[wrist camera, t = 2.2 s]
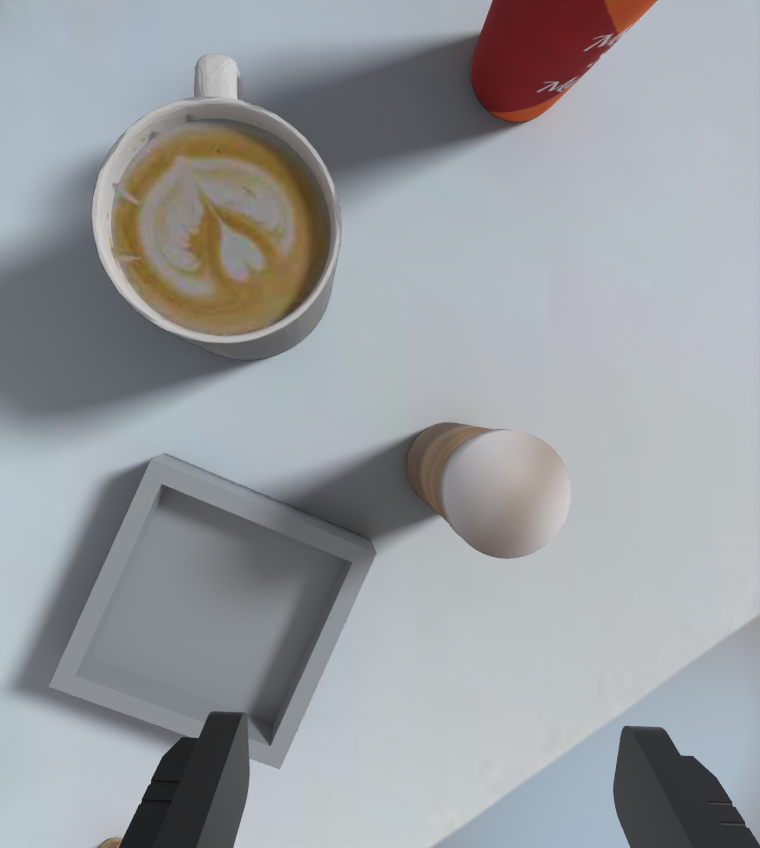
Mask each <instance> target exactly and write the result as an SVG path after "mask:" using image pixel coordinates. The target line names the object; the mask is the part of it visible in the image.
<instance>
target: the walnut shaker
mask: <svg viewBox="0 0 760 848" xmlns="http://www.w3.org/2000/svg"><path fill="white" fill-rule="evenodd" d="M406 471H407V476H408V480H409V482H410V484H411V486H412V488H413V490H414V491H415V492H416V494H417V495H418V496H419V497H421V498H422V499H423V500H424V501H425V502H426V503H427V504H428V505H429V506H430V507H432V508H433V509H434V510H435V511H436V512H437V513H438V514H439V515H440V516H442V517H443V518H444V519H445V520H446V521H447V522H448V523H449V524H450V526H451V527H452V528H453V530H454V531H455V532H456V533H457V534H458V535H459V536H460V537H461V538H463V539H464V540H465V541H466V542H467V543H468V544H469V545H470V546H472V547H473V548H474V549H476V550H477V551H479V552H481V553H483V554H486V555H489V556H492V557H497V558H506V559H509V558H518V557H523V556H526V555H529V554H532V553H534V552H536V551H538V550H539V549H541V548H542V547H544V546H545V545H546V544H548V543H549V542H550V541H551V540H552V539H553V538H554V537H555V536H556V534H557V533H558V532H559V530H560V529H561V527H562V525H563V523H564V522H565V520H566V517H567V514H568V511H569V507H570V501H571V485H570V479H569V475H568V472H567V469H566V467H565V465H564V463H563V461H562V459H561V458H560V456H559V455H558V454H557V452H556V451H555V450H554V449H553V448H552V447H551V446H550V445H548V444H547V443H546V442H544V441H543V440H541V439H539V438H538V437H536V436H533V435H530V434H527V433H523V432H518V431H512V430H503V429H495V430H493V429H487V428H481V427H476V426H470V425H464V424H458V423H450V422H448V423H440V424H436V425H433V426H431V427H429V428H427V429H426V430H424V431H423V432H422V433H420V434H419V435H418V437H417V438H416V439H415V440H414V442H413V443H412V445H411V447H410V449H409V452H408V455H407V461H406Z"/></svg>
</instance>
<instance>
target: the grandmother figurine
mask: <svg viewBox="0 0 760 848" xmlns="http://www.w3.org/2000/svg"><path fill="white" fill-rule="evenodd" d="M121 842H122V839H120V838H111V839H108V840H106V841H105V842H104V843H103V844H102V845H101V847H100V848H119V846H120V844H121Z"/></svg>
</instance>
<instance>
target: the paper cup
mask: <svg viewBox="0 0 760 848" xmlns="http://www.w3.org/2000/svg"><path fill="white" fill-rule="evenodd" d="M656 1H657V0H493V1H492V4H491V7H490V9H489V12H488V15H487V18H486V20H485V23H484V26H483V29H482V31H481V34H480V37H479V40H478V43H477V46H476V49H475V52H474V56H473V60H472V65H471V80H472V85H473V89H474V91H475V94H476V96H477V98H478V99H479V101H480V102H481V104H482V105H483V106H484V107H485V108H486V109H487V110H488V111H489V112H490V113H492V114H493V115H494V116H496V117H498V118H500V119H503V120H506V121H510V122H524V121H529V120H532V119H534V118H536V117H538V116H540V115H541V114H543V113H544V112H545V111H546V110H547V109H549V108H550V107H551V106H552V105H553V104H554V103H555V102H556V101H557V100H558V99H559V98H561V97H562V96H563V95H564V94H565V93H566V92H567V91H568V90H569V89H570V88H571V87H572V86H573V85H574V84H575V83H576V82H577V81H578V80H579V79H580V78H581V77H582V76H583V75H584V74H585V73H586V72H587V71H588V70H589V69H590V68H591V67H592V66H593V65H594V64H595V63H596V62H597V61H598V60H599V59H600V58H601V57H602V56H603V55H604V54H605V53H606V52H607V51H608V50H609V49H610V48H611V47H612V46H613V45H614V44H615V43H616V42H617V41H618V40H619V39H620V38H621V37H622V36H623V35H624V34H625V33H626V32H627V31H628V30H629V29H630V28H631V27H632V26H633V25H634V23H635V22H636V21H637V20H638V19H639V18H640V17H641V16H642V15H643V14H644V13H645V12H646V11H647V10H648V9H649V8H650V7H651V6H652V5H653V4H654V3H655V2H656Z"/></svg>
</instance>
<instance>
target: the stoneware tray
mask: <svg viewBox="0 0 760 848" xmlns="http://www.w3.org/2000/svg"><path fill="white" fill-rule="evenodd" d="M375 555H376V551H375V548H374V546H373V544H372V541H371V540H370V539H368V538H366V537H363V536H361V535H359V534H356V533H354V532H351V531H349V530H347V529H344V528H342V527H340V526H337V525H335V524H332V523H330V522H328V521H325V520H323V519H320V518H318V517H316V516H313V515H311V514H309V513H306V512H304V511H301V510H299V509H297V508H294V507H292V506H289V505H287V504H285V503H282V502H280V501H278V500H275V499H273V498H270V497H268V496H266V495H263V494H261V493H258V492H256V491H254V490H251V489H249V488H247V487H244V486H242V485H239V484H237V483H235V482H232V481H230V480H228V479H225V478H223V477H220V476H218V475H216V474H213V473H211V472H208V471H206V470H204V469H201V468H199V467H197V466H194V465H192V464H189V463H187V462H185V461H182V460H180V459H177V458H175V457H173V456H170V455H168V454H166V453H165V454H162V455H160V456H157V457H155V458H152V459H151V460H150V463H149V465H148V467H147V469H146V471H145V474H144V476H143V478H142V480H141V482H140V485H139V487H138V489H137V491H136V494H135V496H134V498H133V500H132V502H131V505H130V507H129V509H128V511H127V514H126V516H125V518H124V520H123V522H122V525H121V527H120V529H119V531H118V534H117V536H116V538H115V540H114V542H113V545H112V547H111V549H110V551H109V554H108V556H107V558H106V560H105V562H104V565H103V567H102V569H101V571H100V574H99V576H98V578H97V580H96V582H95V585H94V587H93V589H92V591H91V594H90V596H89V598H88V600H87V602H86V605H85V607H84V609H83V611H82V613H81V616H80V618H79V620H78V622H77V625H76V627H75V629H74V631H73V633H72V636H71V638H70V640H69V642H68V645H67V647H66V649H65V651H64V653H63V656H62V658H61V660H60V662H59V665H58V667H57V669H56V671H55V673H54V676H53V678H52V680H51V682H50V685H49V687H50V688H53V689H56V690H59V691H62V692H64V693H67V694H70V695H73V696H76V697H79V698H81V699H84V700H87V701H90V702H93V703H95V704H98V705H101V706H104V707H107V708H109V709H112V710H115V711H118V712H121V713H123V714H126V715H129V716H132V717H135V718H137V719H140V720H143V721H146V722H149V723H152V724H154V725H157V726H160V727H163V728H166V729H168V730H171V731H174V732H177V733H180V734H182V735H185V736H188V737H191V738H199V736H200V734H201V731H202V729H203V726H204V724H205V722H206V719H207V717H208V715H209V713H210V712H211V711H222V712H245V713H246V714H247V719H248V742H249V758H250V759H253V760H255V761H258V762H261V763H264V764H267V765H269V766H272V767H275V768H278V769H280V768H281V765H282V763H283V761H284V759H285V756H286V754H287V752H288V750H289V748H290V745H291V743H292V741H293V739H294V736H295V734H296V732H297V730H298V727H299V725H300V723H301V721H302V718H303V716H304V714H305V712H306V709H307V707H308V705H309V703H310V701H311V698H312V696H313V694H314V692H315V689H316V687H317V685H318V683H319V680H320V678H321V676H322V674H323V671H324V669H325V667H326V665H327V662H328V660H329V658H330V656H331V654H332V651H333V649H334V647H335V645H336V642H337V640H338V638H339V636H340V633H341V631H342V629H343V627H344V624H345V622H346V620H347V618H348V615H349V613H350V611H351V609H352V607H353V604H354V602H355V600H356V598H357V595H358V593H359V591H360V589H361V586H362V584H363V582H364V580H365V577H366V575H367V573H368V571H369V568H370V566H371V564H372V562H373V560H374V557H375Z"/></svg>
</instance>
